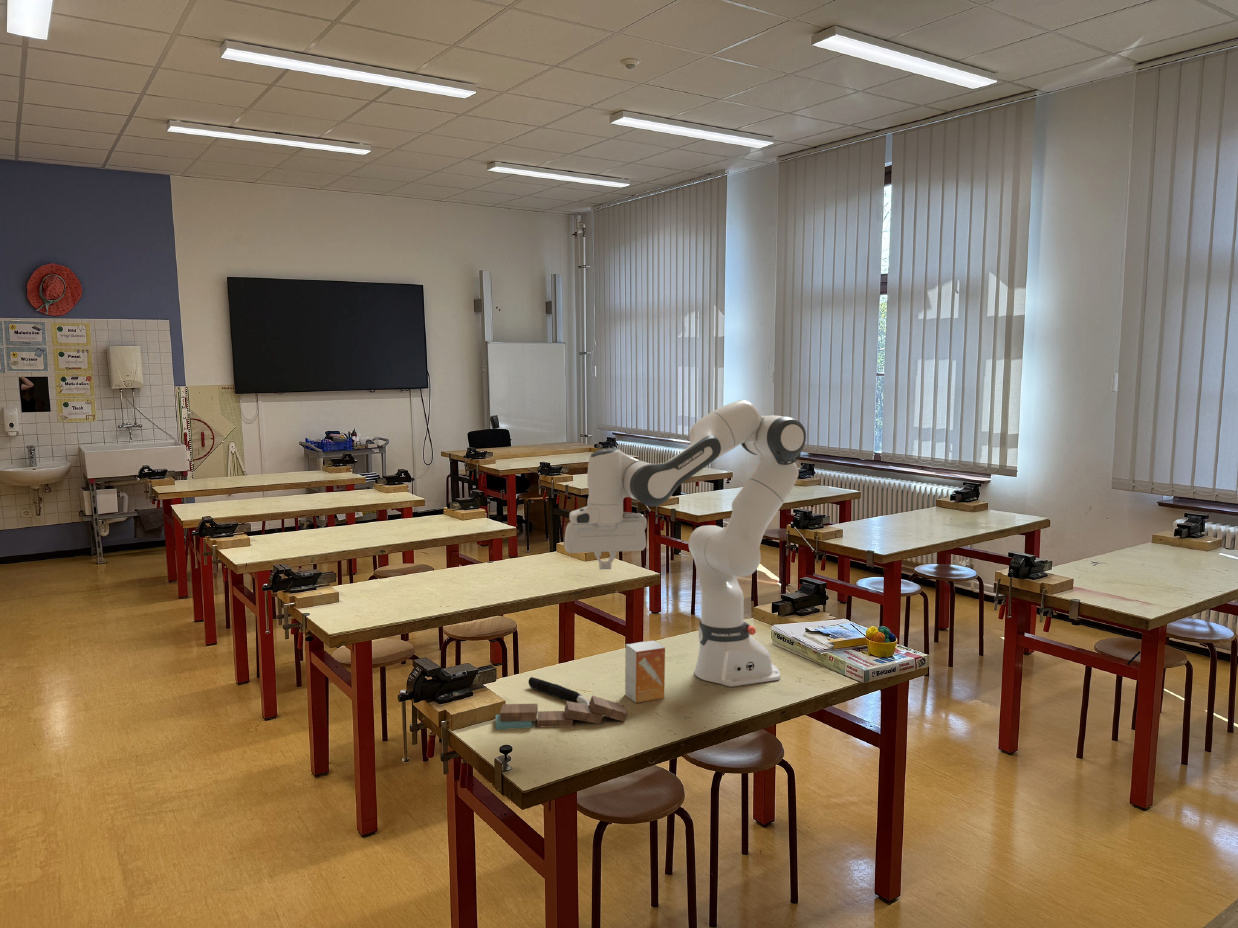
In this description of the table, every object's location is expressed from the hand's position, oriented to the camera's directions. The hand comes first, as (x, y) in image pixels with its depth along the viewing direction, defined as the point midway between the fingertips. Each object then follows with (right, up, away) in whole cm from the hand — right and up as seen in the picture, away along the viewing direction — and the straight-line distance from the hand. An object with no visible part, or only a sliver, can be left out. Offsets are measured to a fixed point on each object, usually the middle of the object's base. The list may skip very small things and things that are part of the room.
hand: (605, 568), depth 207 cm
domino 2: (-17, -33, -17) cm, 40 cm away
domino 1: (-15, -31, -17) cm, 38 cm away
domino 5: (+5, -32, -14) cm, 35 cm away
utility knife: (-11, -32, -2) cm, 34 cm away
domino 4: (-1, -32, -15) cm, 35 cm away
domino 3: (-7, -33, -16) cm, 37 cm away
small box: (+10, -32, -1) cm, 33 cm away
